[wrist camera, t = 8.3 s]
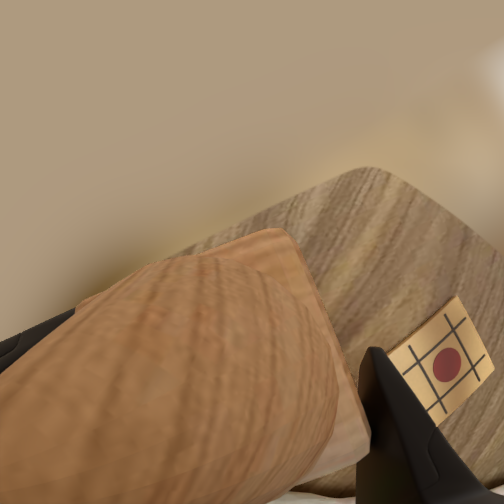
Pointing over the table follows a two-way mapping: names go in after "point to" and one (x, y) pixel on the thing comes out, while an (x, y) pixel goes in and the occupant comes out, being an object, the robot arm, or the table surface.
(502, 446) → the table surface
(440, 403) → the board
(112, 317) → the decorative item
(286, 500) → the stone
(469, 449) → the table surface
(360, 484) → the robot arm
